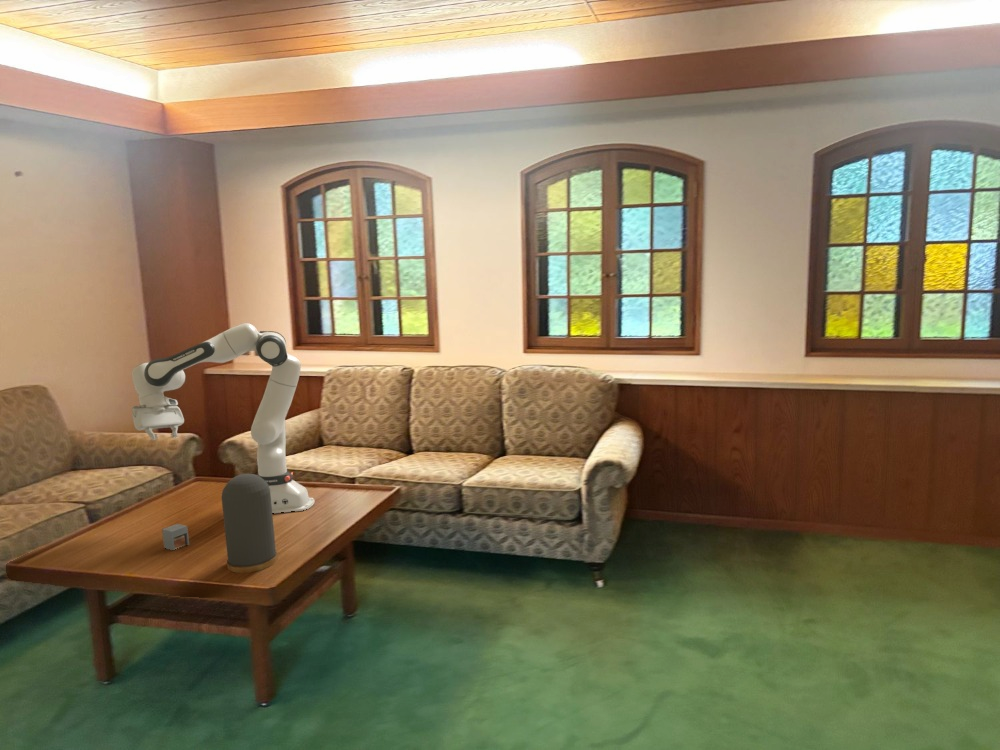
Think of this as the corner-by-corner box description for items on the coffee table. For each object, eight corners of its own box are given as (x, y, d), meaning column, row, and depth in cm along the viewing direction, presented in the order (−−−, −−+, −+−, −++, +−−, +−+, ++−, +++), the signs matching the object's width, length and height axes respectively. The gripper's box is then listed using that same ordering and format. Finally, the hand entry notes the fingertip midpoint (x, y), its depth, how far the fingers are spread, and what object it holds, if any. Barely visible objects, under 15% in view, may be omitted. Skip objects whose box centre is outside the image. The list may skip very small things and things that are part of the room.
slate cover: (179, 542, 250) (177, 523, 249) (189, 544, 247) (187, 526, 246) (164, 548, 245) (161, 529, 244) (174, 550, 242) (171, 531, 241)
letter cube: (178, 543, 249) (177, 532, 248) (185, 545, 247) (184, 534, 246) (168, 547, 246) (166, 536, 245) (175, 549, 244) (174, 538, 243)
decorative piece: (286, 553, 236) (278, 467, 232) (263, 573, 221) (254, 482, 216) (243, 552, 239) (234, 467, 234) (217, 571, 224) (208, 481, 219)
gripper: (135, 402, 255) (147, 437, 253) (180, 400, 274) (191, 432, 272) (124, 409, 257) (135, 444, 255) (169, 406, 276) (180, 438, 274)
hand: (165, 438), depth 263 cm, fingers open, 8 cm apart
